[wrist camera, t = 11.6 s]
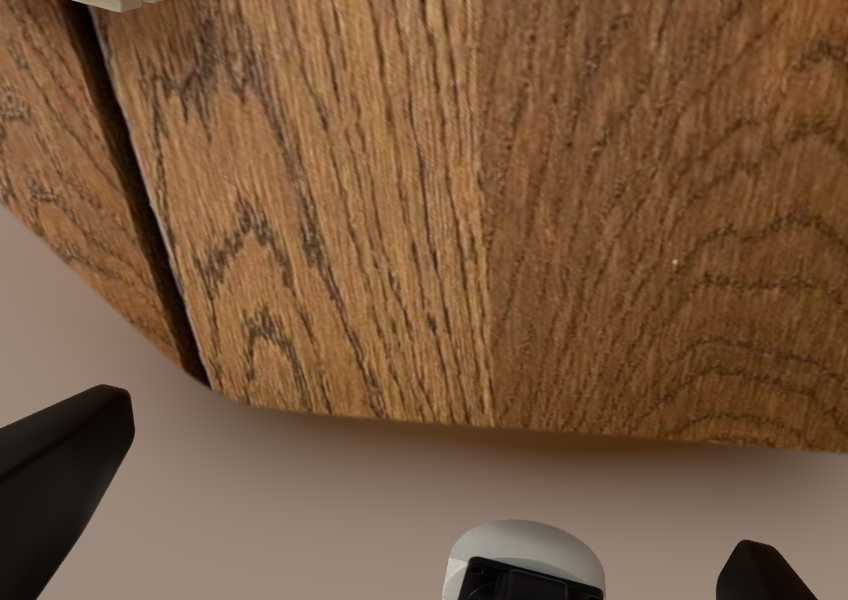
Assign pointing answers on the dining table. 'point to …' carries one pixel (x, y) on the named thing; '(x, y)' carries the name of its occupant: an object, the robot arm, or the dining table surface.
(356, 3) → the dining table surface
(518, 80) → the dining table surface
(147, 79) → the dining table surface
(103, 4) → the cream books
